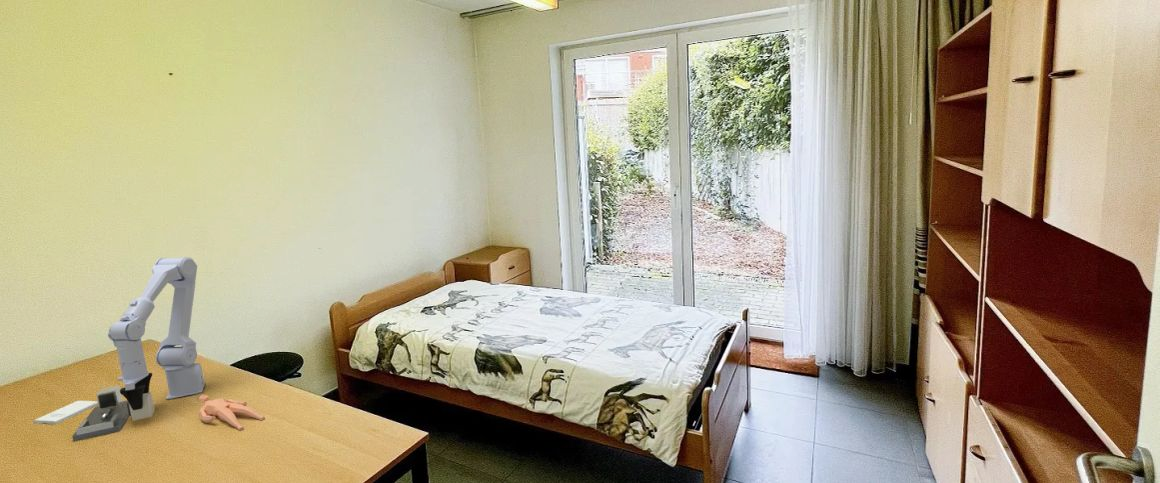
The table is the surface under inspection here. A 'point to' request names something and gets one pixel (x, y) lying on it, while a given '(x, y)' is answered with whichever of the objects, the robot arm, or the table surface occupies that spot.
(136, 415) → the white cube grey lid
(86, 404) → the external hard drive
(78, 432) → the grey metal base
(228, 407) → the male figurine
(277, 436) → the table surface
